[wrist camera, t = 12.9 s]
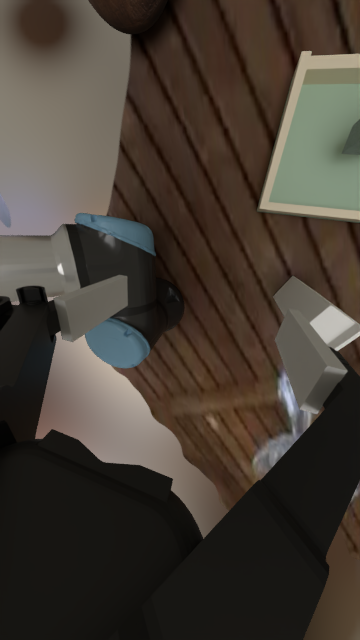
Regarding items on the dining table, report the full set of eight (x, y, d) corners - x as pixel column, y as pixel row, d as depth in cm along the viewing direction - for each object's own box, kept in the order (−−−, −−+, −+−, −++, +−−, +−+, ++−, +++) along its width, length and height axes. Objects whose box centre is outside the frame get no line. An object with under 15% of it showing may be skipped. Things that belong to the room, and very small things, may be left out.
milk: (314, 290, 40) (387, 343, 21) (292, 310, 43) (338, 373, 24) (292, 274, 40) (344, 313, 21) (271, 296, 43) (301, 347, 24)
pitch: (256, 211, 37) (259, 208, 33) (291, 80, 29) (302, 51, 24) (402, 227, 32) (429, 226, 28) (494, 76, 24) (554, 38, 20)
